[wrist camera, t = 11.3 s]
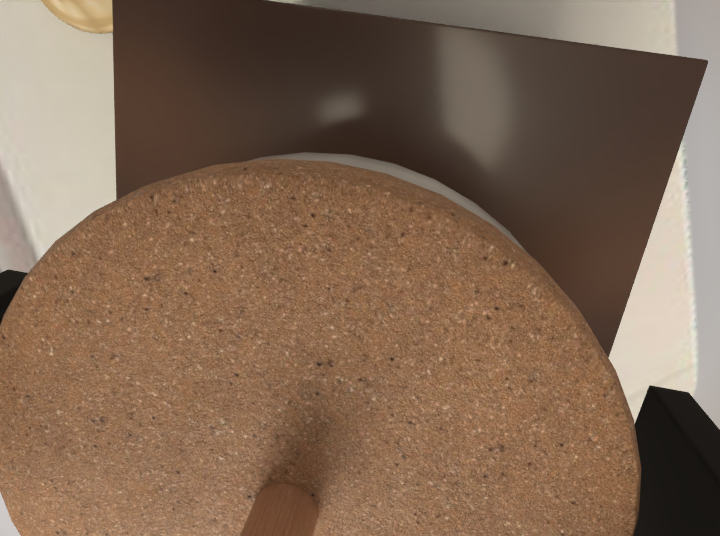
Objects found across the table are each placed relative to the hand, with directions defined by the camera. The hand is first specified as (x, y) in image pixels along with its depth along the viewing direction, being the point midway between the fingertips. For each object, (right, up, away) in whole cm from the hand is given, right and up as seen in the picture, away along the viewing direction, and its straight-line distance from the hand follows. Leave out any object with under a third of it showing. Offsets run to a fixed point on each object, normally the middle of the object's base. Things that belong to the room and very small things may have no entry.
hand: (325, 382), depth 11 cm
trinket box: (+1, +1, +5) cm, 5 cm away
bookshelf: (+3, +7, +21) cm, 23 cm away
